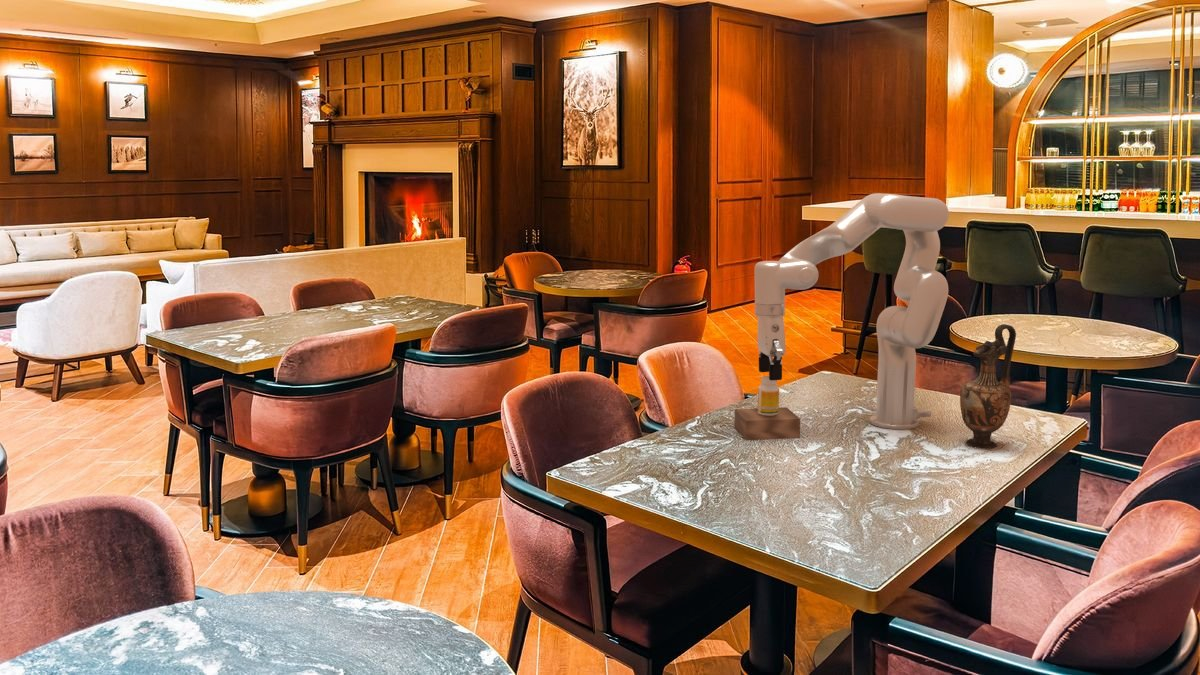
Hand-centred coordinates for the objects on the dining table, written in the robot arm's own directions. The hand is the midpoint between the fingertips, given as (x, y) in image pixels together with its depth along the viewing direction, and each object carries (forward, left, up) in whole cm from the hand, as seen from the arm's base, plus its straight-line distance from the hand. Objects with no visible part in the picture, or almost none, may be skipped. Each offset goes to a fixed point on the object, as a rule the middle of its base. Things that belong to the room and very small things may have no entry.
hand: (770, 375), depth 244 cm
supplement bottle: (0, 0, -10) cm, 10 cm away
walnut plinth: (+1, 0, -15) cm, 15 cm away
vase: (-49, +18, -15) cm, 54 cm away
